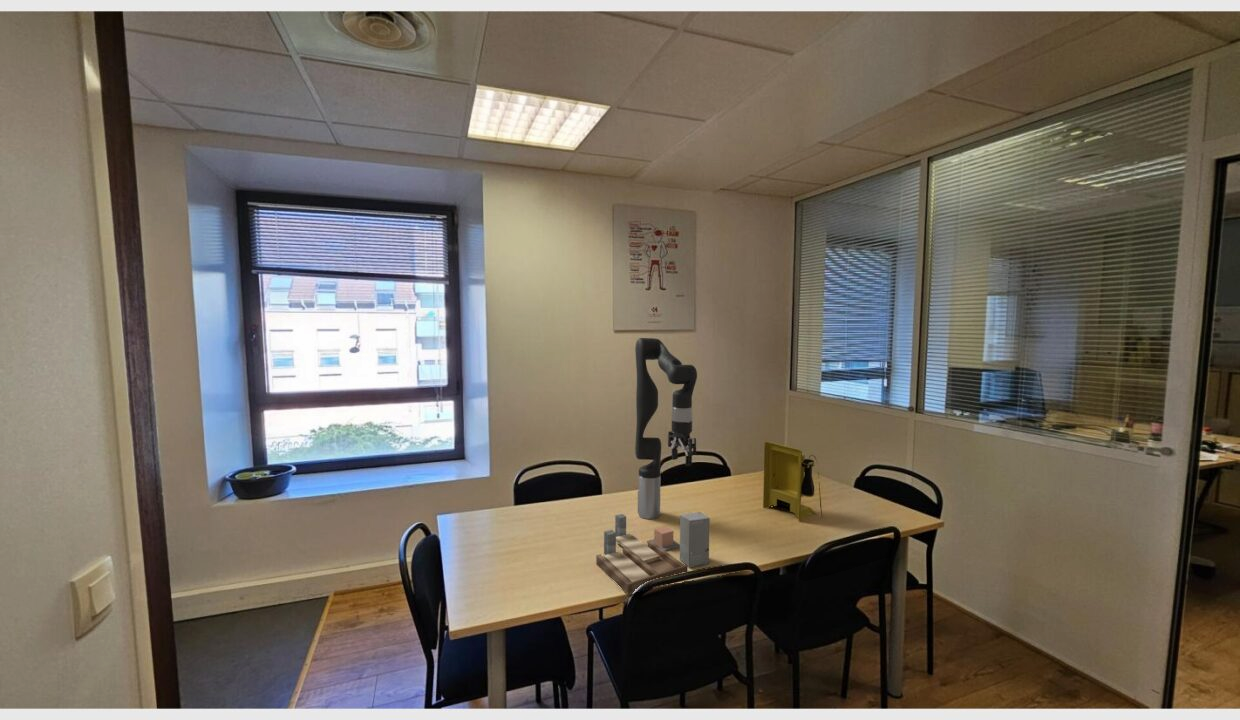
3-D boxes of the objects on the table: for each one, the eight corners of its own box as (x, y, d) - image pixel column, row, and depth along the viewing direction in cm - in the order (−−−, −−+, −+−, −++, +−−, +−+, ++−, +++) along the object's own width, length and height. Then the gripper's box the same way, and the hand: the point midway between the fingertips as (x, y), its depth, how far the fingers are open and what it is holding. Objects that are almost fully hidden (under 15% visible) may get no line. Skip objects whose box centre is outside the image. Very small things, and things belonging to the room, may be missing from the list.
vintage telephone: (836, 521, 188) (839, 449, 186) (817, 529, 180) (819, 454, 178) (772, 497, 214) (774, 434, 212) (753, 504, 206) (754, 438, 204)
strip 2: (599, 555, 157) (599, 532, 156) (616, 550, 160) (616, 528, 159) (633, 587, 137) (633, 561, 137) (651, 581, 140) (651, 556, 140)
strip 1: (611, 537, 170) (611, 516, 170) (626, 533, 174) (626, 512, 173) (643, 563, 151) (643, 540, 150) (659, 559, 154) (659, 536, 154)
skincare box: (689, 568, 150) (689, 521, 149) (678, 558, 157) (678, 513, 156) (710, 563, 154) (711, 517, 153) (698, 553, 160) (699, 509, 159)
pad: (646, 542, 169) (646, 541, 169) (666, 536, 173) (666, 535, 173) (660, 552, 161) (660, 551, 161) (681, 546, 165) (681, 545, 165)
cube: (654, 541, 168) (654, 528, 168) (665, 538, 171) (665, 525, 170) (662, 547, 164) (662, 533, 164) (673, 544, 166) (673, 530, 166)
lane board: (596, 564, 153) (596, 554, 153) (651, 548, 164) (651, 539, 164) (628, 595, 135) (628, 584, 134) (687, 576, 146) (687, 565, 145)
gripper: (662, 416, 171) (662, 458, 172) (685, 423, 159) (684, 469, 160) (678, 414, 175) (678, 456, 176) (702, 421, 162) (701, 466, 164)
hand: (681, 462), depth 168 cm, fingers open, 8 cm apart
